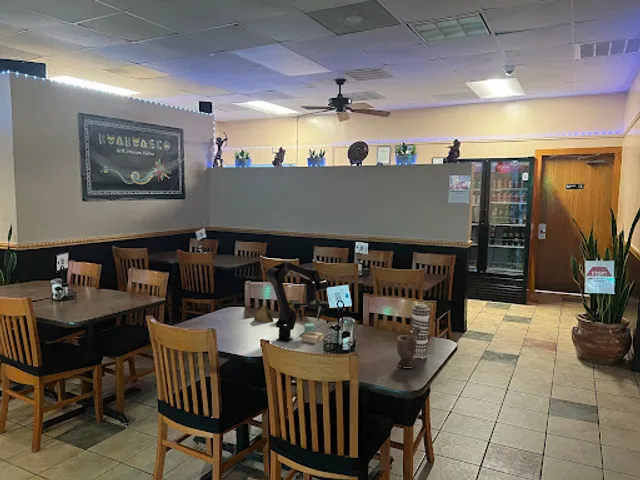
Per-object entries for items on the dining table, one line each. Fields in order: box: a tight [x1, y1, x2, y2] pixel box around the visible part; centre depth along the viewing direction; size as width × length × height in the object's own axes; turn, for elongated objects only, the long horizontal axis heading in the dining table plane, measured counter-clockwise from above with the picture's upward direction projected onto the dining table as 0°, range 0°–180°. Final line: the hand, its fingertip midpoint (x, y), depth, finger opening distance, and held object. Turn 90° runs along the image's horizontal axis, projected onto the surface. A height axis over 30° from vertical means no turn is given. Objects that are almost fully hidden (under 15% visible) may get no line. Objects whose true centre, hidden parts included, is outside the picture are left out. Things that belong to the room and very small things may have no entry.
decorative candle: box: [410, 303, 431, 357], centre depth 229 cm, size 9×9×25 cm
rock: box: [253, 305, 274, 323], centre depth 282 cm, size 11×9×10 cm
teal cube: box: [303, 323, 316, 334], centre depth 260 cm, size 5×5×5 cm
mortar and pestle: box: [396, 327, 421, 367], centre depth 213 cm, size 12×9×20 cm
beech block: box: [301, 331, 324, 344], centre depth 249 cm, size 8×8×4 cm
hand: (309, 320), depth 259 cm, fingers open, 9 cm apart
